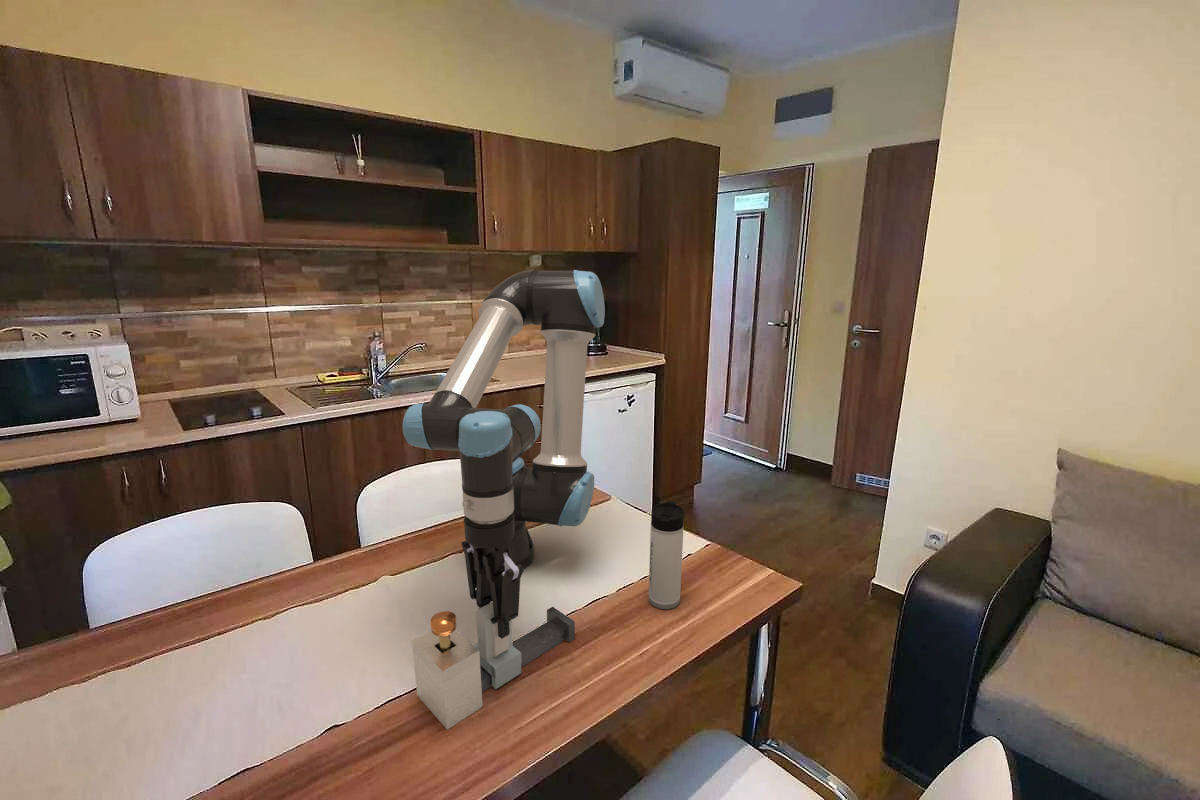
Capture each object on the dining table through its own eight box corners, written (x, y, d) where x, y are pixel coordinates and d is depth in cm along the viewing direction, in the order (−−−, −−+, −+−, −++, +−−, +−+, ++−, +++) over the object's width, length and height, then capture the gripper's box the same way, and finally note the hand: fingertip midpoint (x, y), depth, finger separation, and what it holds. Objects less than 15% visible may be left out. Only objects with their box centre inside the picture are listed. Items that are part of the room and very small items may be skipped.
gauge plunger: (430, 668, 84) (425, 618, 81) (451, 656, 86) (447, 608, 84) (442, 680, 81) (438, 630, 79) (463, 668, 84) (460, 618, 81)
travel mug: (682, 593, 113) (687, 503, 108) (676, 612, 107) (680, 518, 102) (653, 587, 115) (656, 498, 110) (644, 606, 109) (647, 512, 103)
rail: (417, 695, 86) (412, 640, 84) (547, 619, 104) (546, 572, 102) (447, 729, 80) (442, 671, 78) (580, 642, 98) (580, 593, 96)
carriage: (471, 667, 92) (468, 603, 89) (497, 652, 95) (494, 591, 92) (496, 690, 87) (493, 624, 84) (521, 673, 90) (519, 609, 87)
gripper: (440, 505, 87) (449, 634, 93) (498, 540, 76) (504, 683, 82) (481, 491, 92) (487, 614, 98) (540, 522, 81) (544, 658, 87)
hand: (495, 646), depth 90 cm, fingers closed on carriage, 2 cm apart
